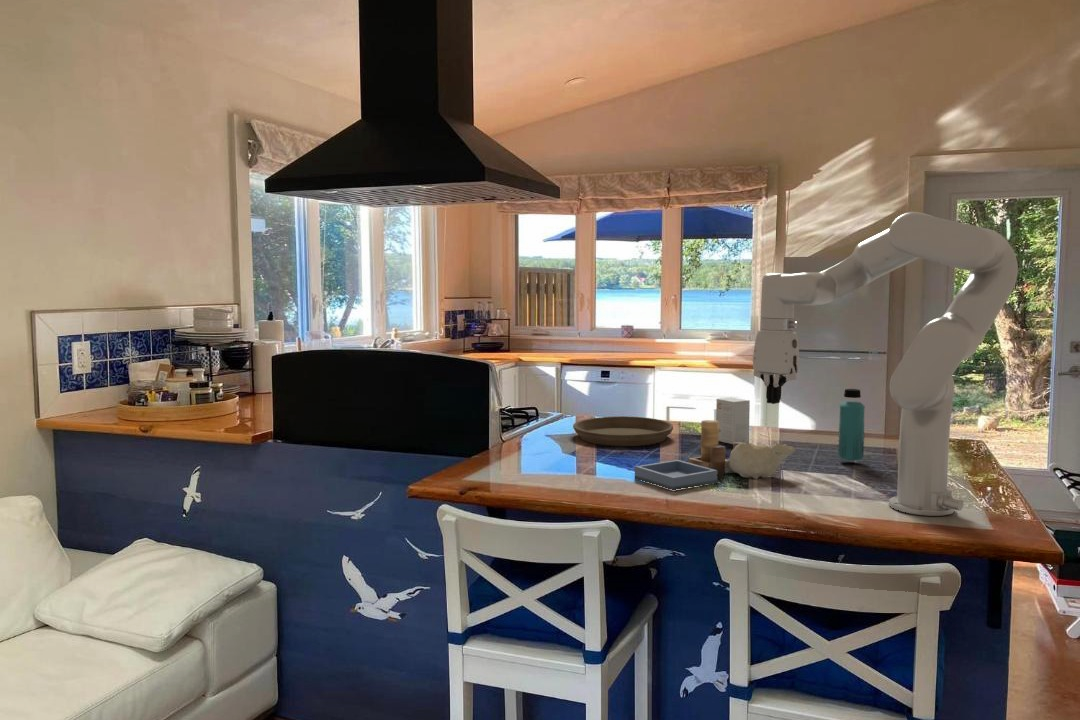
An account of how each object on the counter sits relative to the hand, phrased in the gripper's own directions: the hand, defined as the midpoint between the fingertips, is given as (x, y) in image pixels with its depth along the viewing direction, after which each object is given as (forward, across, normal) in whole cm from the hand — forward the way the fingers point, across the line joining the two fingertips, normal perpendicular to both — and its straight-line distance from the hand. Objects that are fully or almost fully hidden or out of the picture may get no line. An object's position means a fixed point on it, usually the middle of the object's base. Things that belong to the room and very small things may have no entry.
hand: (773, 402), depth 191 cm
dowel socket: (+20, +20, -4) cm, 29 cm away
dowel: (+20, +20, -4) cm, 29 cm away
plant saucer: (+21, +62, -18) cm, 68 cm away
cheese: (+20, +6, -5) cm, 21 cm away
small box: (+20, +35, -37) cm, 55 cm away
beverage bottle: (+20, -3, -35) cm, 41 cm away
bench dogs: (+20, +13, -3) cm, 24 cm away
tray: (+20, +17, +15) cm, 30 cm away
